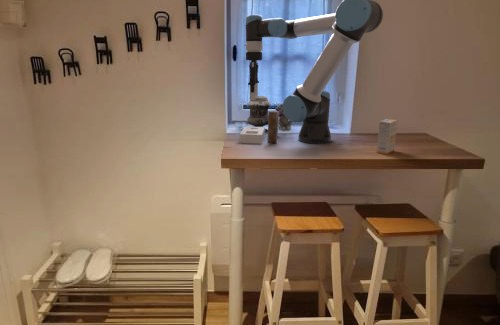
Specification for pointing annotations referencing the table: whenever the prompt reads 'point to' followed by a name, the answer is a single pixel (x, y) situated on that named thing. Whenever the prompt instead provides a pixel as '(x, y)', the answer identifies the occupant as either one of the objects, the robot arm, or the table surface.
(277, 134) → the square steel bar
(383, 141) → the supplement box
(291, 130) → the table surface
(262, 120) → the apothecary jar
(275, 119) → the walnut dowel
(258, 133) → the socket block
